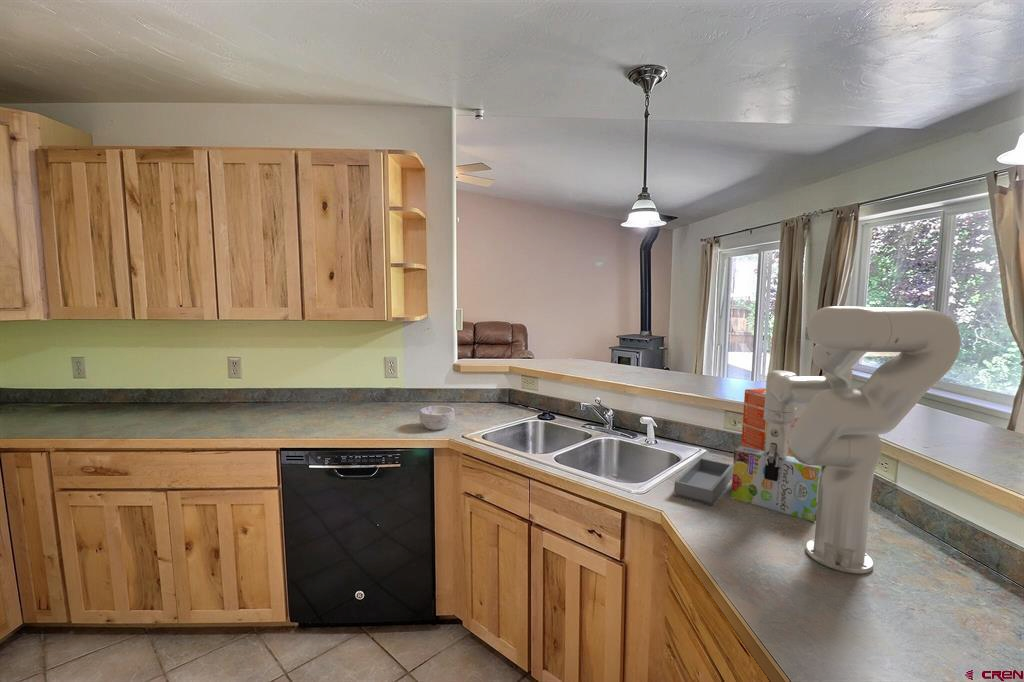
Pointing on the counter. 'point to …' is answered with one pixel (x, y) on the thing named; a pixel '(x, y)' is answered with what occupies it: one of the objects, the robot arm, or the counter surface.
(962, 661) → the counter surface
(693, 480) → the tray
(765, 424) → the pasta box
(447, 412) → the grey bowl
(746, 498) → the snack box
